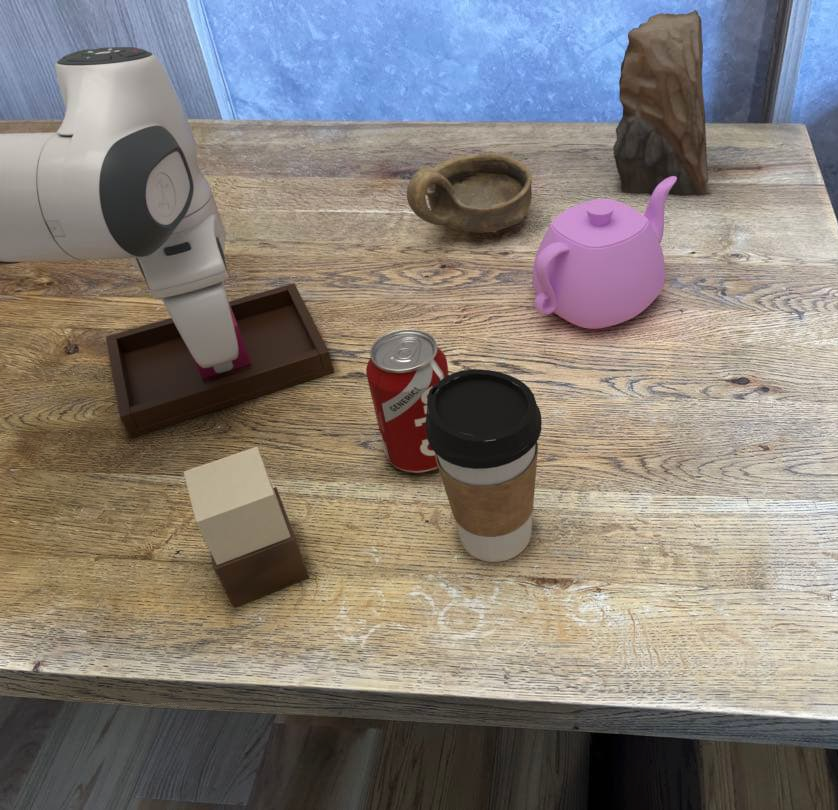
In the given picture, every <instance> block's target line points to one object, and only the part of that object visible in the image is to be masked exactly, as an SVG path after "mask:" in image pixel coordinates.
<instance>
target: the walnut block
mask: <svg viewBox="0 0 838 810" xmlns="http://www.w3.org/2000/svg"><path fill="white" fill-rule="evenodd" d="M273 488H274V491H275V494H276V497H277V500H278V502H279V505H280V508H281V511H282V514H283V517H284V520H285V522H286V525H287V528H288V531H289V534H290V538H287V539H285V540H282V541H280V542H277V543H274V544H272V545H269V546H266V547H264V548H261V549H259V550H256V551H253V552H251V553H248V554H245V555H243V556H240V557H238V558H235V559H232V560H230V561H227V562H224V563H222V564H219V565H217V564H216V562H215V560H214V558H213V556H212V554H211V552H210V551H209V554H210V558H211V562H212V566H213V569H214V571H215V574H216V576H217V578H218V580H219V582H220V583H221V586H222V587H223V590H224V592H225V594H226V596H227V597H228V600H229V601H230V603H231V606H232V609H233V608H234V609H235V608H237V607H239V606H240V607H241V606H242V605H246V604H247V603H250V602H252V601H255V600H258V599H260V598H262V597H266V596H268V595H270V594H272V593H275V592H278V591H280V590H282V589H283V590H284V589H285V588H287V587H290V586H293V585H295V584H297V583H300V582H302V581H305V580H307V579H310V575H309V572H308V569H307V566H306V564H305V560H304V558H303V555H302V552H301V550H300V547H299V543H298V541H297V539H296V535H295V532H294V530H293V527H292V525H291V522H290V519H289V516H288V514H287V511H286V509H285V506H284V503H283V501H282V498H281V494H280V492H279V490H278V489H279V488H278V487H277V486H274V487H273Z"/></svg>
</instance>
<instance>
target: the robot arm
mask: <svg viewBox="0 0 838 810" xmlns="http://www.w3.org/2000/svg"><path fill="white" fill-rule="evenodd" d="M54 66H55V74H56V79H57V83H58V86H59V87H58V88H59V90H60V94H61V98H62V101H63V105H64V108H65V114H64V118H63V120H62V122H61V125H60V126H59V127H58V129H57V130H56V132H22V133H21V132H20V133H19V132H18V133H17V132H16V133H0V266H5V265H6V266H7V265H15V264H20V263H35V262H36V263H37V262H38V263H39V262H83V261H84V262H86V261H97V260H98V261H100V260H101V261H103V260H128V261H129V262H130V264H132V265H133V266H134V267H135V268H136V269H137V271H138V272H139V273H140V274H141V275H142V276H143V279H144V281H145V283H146V285H147V288H148V290H149V292H150V294H151V295H152V297H153V299H155V300H162V302H163V305H164V307H165V309H166V311H167V313H168V315H169V317H170V318H172V320H173V322H174V324H175V326H176V328H177V330H178V331H179V333H180V335H181V337H182V339H183V340H184V342H185V344H186V346H187V348H188V349H189V351H190V353H191V355H192V356H193V358H194V359H195V361H196V362H197V363H198V365H200V366H201V367H202V368H209V367H213V368H214V370H215V372H216V373H223V372H226V371H229V370H231V369H232V368H233V364H232V360H235V359H236V358H237V357H238V354H239V349H238V342H237V337H236V333H235V328H234V324H233V319H232V315H231V310H230V306H229V302H228V301H229V298H228V293H227V290H226V283H225V282H226V281H228V280H229V274H228V268H227V264H226V258H225V251H226V250H225V249H226V244H225V243H226V241H227V232H226V229H225V227H224V223H223V220H222V218H221V217H222V216H221V215H220V212H219V208H218V205H217V202H216V200H215V196H214V193H213V191H212V187H211V186H210V183H209V181H208V180H207V179H206V177H205V175H204V173H202V171H201V169H200V166H199V162H198V149H197V143H196V139H195V137H194V134H193V131H192V128H191V125H190V123H189V120H188V117H187V114H186V112H185V109H184V107H183V105H182V102H181V99H180V98H179V96H178V93H177V91H176V89H175V87H174V85H173V82H172V80H171V78H170V77H169V75H168V73H167V71H166V69H165V68H164V66H163V64H162V62H161V61H160V60H159V58H158V56H156V55H155V54H154V53H153V52H150V51H148V50H146V49H143V48H138V47H135V46H134V47H133V46H115V47H114V46H112V47H111V46H110V47H98V48H92V49H91V48H90V49H89V48H87V49H81V50H78V51H73V52H70V53H67V54H65V55H64V56H62V57H61V58H60V59H58V60H57V61H56V62H55V65H54Z"/></svg>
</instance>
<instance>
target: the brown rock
mask: <svg viewBox="0 0 838 810" xmlns="http://www.w3.org/2000/svg"><path fill="white" fill-rule="evenodd" d="M702 22H703V21H702V17H701V16H700V15H699V11H698V10H696V9H695V10H692V11H690V12H689V13H677V14H674V13H668V12H667V13H662V12H660V13H657V14H654V15H651V16H650V17H648V20H647V21H646V22H642V23H640V24H639V26H638V27H633V28H632V29H631V30H629V31H628V33H627V40H628V44H627V46H626V50H625V51H624V55H623V60H622V62H621V65H620V76H619V82H618V87H619V91H618V92H619V93H618V95H619V102H620V103H621V106H622V117H621V119H620V121H619V122H618V125H617V127H616V128H615V134H616V140H615V142H614V145H613V148H612V149H613V158H614V159H615V166H616V170H617V174H618V176H619V179H620V183H621V188H620V190H621V192H624V193H628V194H644V193H645V194H647V193H648V194H650V195H652V194H653V192H654V190H655V188H656V187H657V186H658V184H660V183H661V182H662V181H663V180H665V179H666V178H668V177H671V176H676V177H677V180H676V182H675V184H674V185H673V186H672V188H671V189H670V191H669V193H668V195H669V194H671V195H674V196H675V195H676V196H689V195H697V196H698V195H703V196H704V195H707V189H706V186H707V183H708V181H709V169H708V157H707V156H708V152H707V129H706V109H705V98H704V89H703V65H704V63H703V61H704V60H703V54H704V44H703V27H702V26H703V25H702Z"/></svg>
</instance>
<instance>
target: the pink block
mask: <svg viewBox="0 0 838 810" xmlns="http://www.w3.org/2000/svg"><path fill="white" fill-rule="evenodd" d="M229 301H230V300H228V302H229ZM229 306H230V304H229ZM230 310H231V315H232V319H233V324H234V328H235V333H236V337H237V342H238V349H239V354H238V357H237V358H236V359H235V360H232V364H233V368H232V369H231V370H234V369H237V368H240V367H243V366H247V365H250V364H251V361H250V359H249V356H248V353H247V350H246V347H245V344H244V342H243V339H242V336H241V333H240V330H239V327H238V325H237V322H236V319H235V317H234V314H233V312H232V309H231V306H230ZM192 357H193V356H192ZM193 359H194V358H193ZM194 361H195V359H194ZM195 364H196V366H197V369H198V371H199V373H200V376H201V378H202V379H204V378H208V377H211V376H214V375H217V374H221V373H216V372H215V370H214V368H213V367H209V368H202V367H201V366H200V365H198V363H197V362H196V361H195ZM229 371H230V370H229ZM226 372H227V371H226ZM223 373H224V372H223Z"/></svg>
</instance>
